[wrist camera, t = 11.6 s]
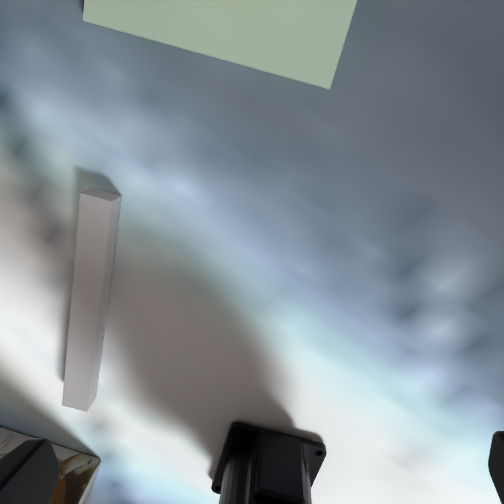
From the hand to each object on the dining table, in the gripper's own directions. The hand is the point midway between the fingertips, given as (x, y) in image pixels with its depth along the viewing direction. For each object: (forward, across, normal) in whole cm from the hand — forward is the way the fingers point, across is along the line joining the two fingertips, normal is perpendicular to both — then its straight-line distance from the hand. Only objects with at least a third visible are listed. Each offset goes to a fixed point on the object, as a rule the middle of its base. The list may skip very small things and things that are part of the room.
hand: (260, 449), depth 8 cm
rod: (+13, +11, +4) cm, 18 cm away
